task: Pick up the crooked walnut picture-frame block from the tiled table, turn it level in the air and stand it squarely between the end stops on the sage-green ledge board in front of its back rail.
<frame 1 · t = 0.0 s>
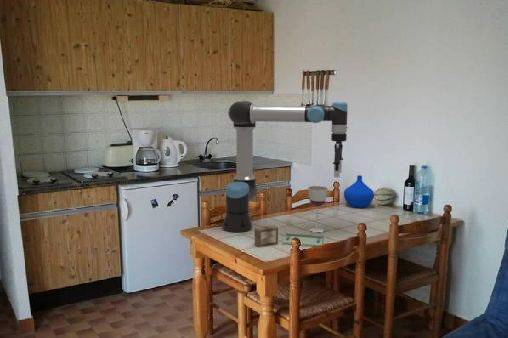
hand: (337, 174, 233), 28 cm above the table, fingers open, 13 cm apart
vase: (358, 206, 285), on the table
wineglass: (316, 230, 234), on the table
ledge board: (303, 241, 215), on the table
frame: (266, 244, 212), on the table
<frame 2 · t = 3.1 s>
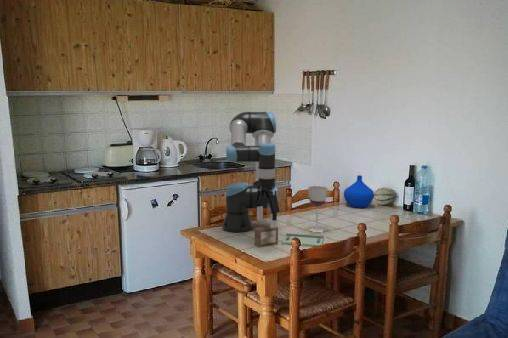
hand: (266, 223, 210), 10 cm above the table, fingers open, 13 cm apart
nothing on the table moved.
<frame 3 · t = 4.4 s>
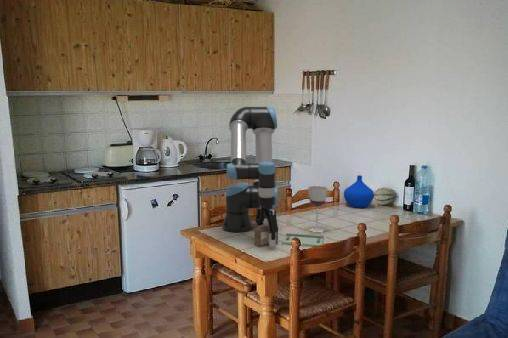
hand: (266, 242, 212), 1 cm above the table, fingers open, 11 cm apart
nothing on the table moved.
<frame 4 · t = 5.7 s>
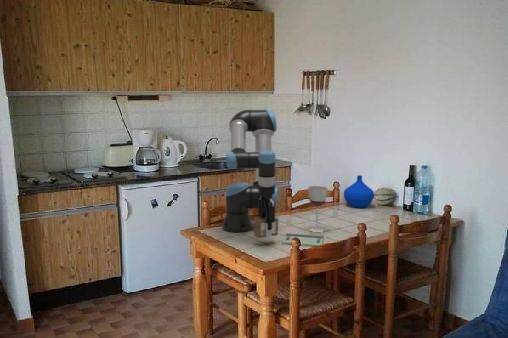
hand: (266, 234, 212), 5 cm above the table, fingers closed on frame, 4 cm apart
frame: (266, 235, 212), point 4 cm above the table, touching gripper
everything else where it was.
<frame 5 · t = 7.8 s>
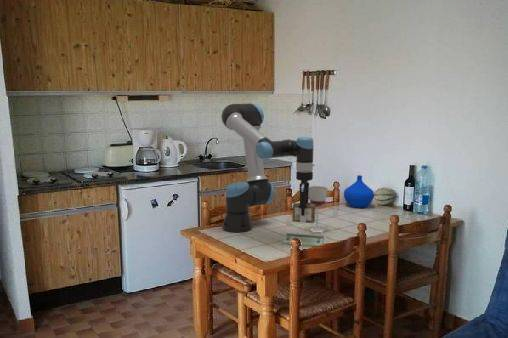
hand: (303, 220, 214), 10 cm above the table, fingers closed on frame, 4 cm apart
frame: (303, 221, 214), point 10 cm above the table, touching gripper
everything else where it was.
when the fingers open (2 cm above the table, at t = 9.8 s): frame stays where it is, resting on ledge board.
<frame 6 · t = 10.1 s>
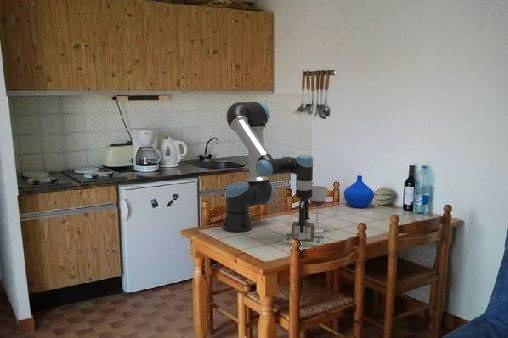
hand: (303, 235, 215), 3 cm above the table, fingers open, 9 cm apart
frame: (303, 239, 215), point 1 cm above the table, touching ledge board
everything else where it was.
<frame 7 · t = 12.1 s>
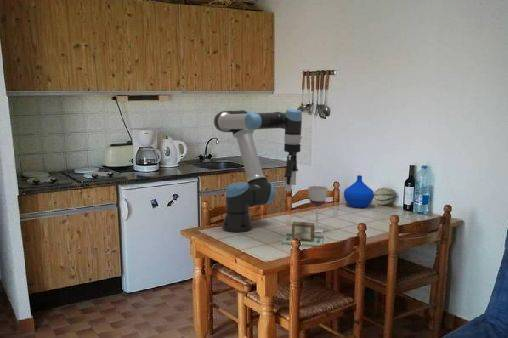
hand: (290, 187, 217), 25 cm above the table, fingers open, 13 cm apart
nothing on the table moved.
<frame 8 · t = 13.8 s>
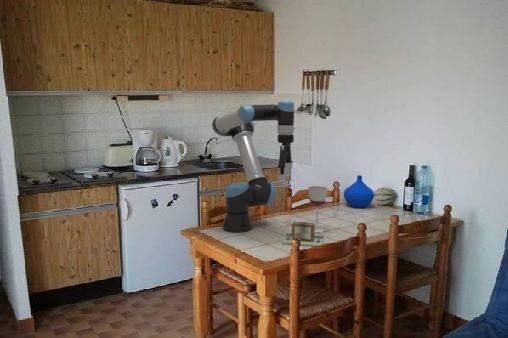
hand: (285, 178, 218), 29 cm above the table, fingers open, 13 cm apart
nothing on the table moved.
at the end: frame 0.1 cm off-centre on the ledge board, point 1.0 cm above the ledge board's base; frame tilted 0°; the gripper is holding nothing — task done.
